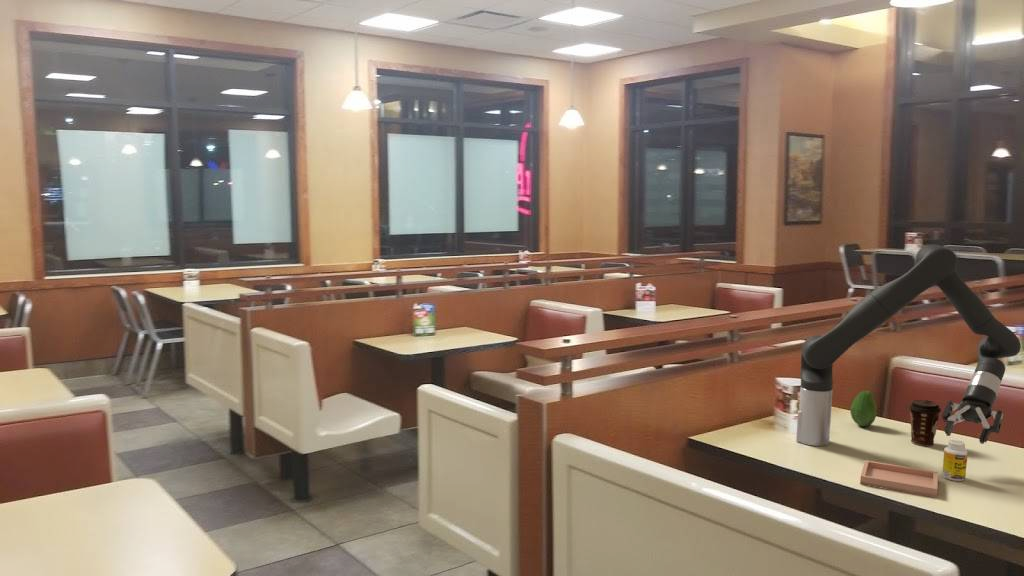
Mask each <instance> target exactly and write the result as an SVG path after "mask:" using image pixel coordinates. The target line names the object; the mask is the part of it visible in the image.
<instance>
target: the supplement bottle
mask: <svg viewBox="0 0 1024 576" xmlns="http://www.w3.org/2000/svg"><path fill="white" fill-rule="evenodd" d="M965 448H966V443H965V441H962V440H957V439H950V440H948V443H947V446H946V447H944V449H943V450H944V452H943V460H942V471H941V475H942V477H944V478H945V479H946V480H950V481H952V482H953V481H954V482H963V481H965V479H966V474H967V463H968V454H969V453H968V450H967V449H965Z"/></svg>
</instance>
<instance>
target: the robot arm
mask: <svg viewBox="0 0 1024 576" xmlns="http://www.w3.org/2000/svg"><path fill="white" fill-rule="evenodd" d="M915 263H916V264H915V265H914V266H913V267H911V269H910V270H908V271H907V272H905V273H904V274H903V275H901V276H900V277H898V278H895V279H894V280H892V281H889V282H887V283H885V284H882V285H880V286H878V287H877V288H876V289H874V290H872V291H871V292H869V293H868V294H867V295H866V296H864V297H862V298H861V300H859V301H858V302H857V303H856V304H855V305H853V307H851V308H850V310H849V311H848V312H847V314H846V315H844V317H843V318H842V320H841V321H840V322H839V323H838V324H837V325H836V326H834V327H833V328H832V329H831V330H829V331H828V332H826V333H825V334H823V335H817V334H815V335H811V336H809V337H808V338H806V340H805V341H803V344H802V346H801V359H800V388H799V389H800V392H799V407H798V409H799V410H798V411H797V419H796V420H797V422H796V423H797V424H796V441H795V442H798V443H802V444H804V445H806V446H807V445H808V446H813V447H815V446H816V447H823V446H828V445H829V444H830V438H831V437H830V435H831V434H830V433H831V423H832V422H831V418H832V402H833V387H834V386H833V385H834V381H833V380H834V379H833V365H834V363H835V362H836V361H837V360H839V358H840V357H841V356H842V355H843V354H845V352H847V351H848V350H849V349H850V348H851V347H852V346H853V345H855V344H856V343H857V342H859V341H861V340H862V339H864V338H865V337H866V336H868V335H869V334H871V333H872V332H873V331H875V330H876V329H877V328H879V327H881V326H882V325H883V324H885V323H886V322H888V320H890V319H891V318H892V317H893V316H895V315H896V314H897V313H898V312H900V311H901V310H903V309H904V308H905V307H906V306H908V305H909V304H910V303H912V302H913V300H915V299H916V298H917V297H918V296H919V295H921V294H922V293H924V292H925V291H927V290H928V289H930V288H932V287H933V286H938V289H940V290H941V292H942V293H943V294H944V295H945V297H946V298H947V299H948V300H949V302H950V303H951V305H952V306H953V307H954V308H955V310H956V312H957V313H958V314H959V315H960V317H961V318H962V320H963V321H964V322H965V324H966V325H967V327H968V328H969V329H970V330H971V332H972V333H974V334H976V335H979V336H983V335H984V337H983V338H982V339H981V340H980V341H979V342H978V345H977V365H976V367H975V369H974V372H973V373H972V374H973V375H972V376H971V377H970V380H969V382H968V384H967V387H966V389H965V393H964V395H963V397H962V401H960V403H955V402H953V401H952V400H948V401H947V403H946V404H945V407H944V409H943V411H942V414H941V419H942V420H943V422H944V423H945V426H944V428H943V430H944V433H945V435H946V437H950V436H951V434H952V432H953V429H954V427H955V425H956V424H957V423H961V422H963V421H966V422H970V423H971V422H972V423H974V424H979V423H981V425H982V427H983V428H982V430H981V433H980V436H979V443H980V444H981V445H984V443H987V442H988V439H989V437H990V435H991V433H995V434H999V433H1000V430H1001V427H1002V424H1003V421H1004V420H1003V419H1004V413H1003V411H1002V410H1000V409H998V410H996V411H994V410H993V407H994V405H995V402H996V400H997V397H998V396H999V392H1000V388H1001V383H1002V381H1003V378H1004V375H1005V372H1006V365H1005V363H1004V362H1003V361H1001V360H1000V359H1003V358H1009V357H1010V358H1011V357H1014V356H1017V355H1018V354H1019V353H1020V351H1021V349H1022V347H1021V346H1022V344H1021V342H1020V339H1019V338H1018V336H1017V334H1015V333H1014V332H1013V331H1012V330H1011V329H1009V327H1007V326H1006V325H1005V324H1004V323H1003V322H1001V321H999V320H998V319H997V318H995V316H994V315H993V313H992V312H991V310H990V309H989V308H988V307H987V306H986V304H985V303H984V302H983V301H982V300H981V298H980V297H979V296H978V295H977V294H976V293H975V292H974V291H973V290H972V289H971V287H969V286H968V285H967V284H966V282H965V281H964V280H963V278H961V276H960V274H958V272H957V270H956V269H957V266H958V256H957V255H956V253H955V252H954V251H953V250H951V249H949V248H948V247H946V246H943V245H940V244H927V245H924V246H922V247H921V248H920V249H919V250H917V253H916V256H915ZM957 409H958V410H957ZM956 410H957V411H956ZM953 412H954V413H953ZM952 413H953V414H952ZM992 416H993V419H994V421H993V425H990V423H989V422H988V420H987V419H989V418H991V417H992Z"/></svg>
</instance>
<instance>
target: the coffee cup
mask: <svg viewBox="0 0 1024 576" xmlns="http://www.w3.org/2000/svg"><path fill="white" fill-rule="evenodd" d="M908 408H909V410H910V412H909V414H910V415H909V416H910V438H911V440H910V442H911V444H913V445H917V446H923V447H930V446H934V445H935V436H936V434H937V428H938V425H939V424H938V423H939V415H940V412H942V409H941V408H940V406H939V404H938V403H937V402H934V401H931V400H927V399H924V400H923V399H914V400H913V401H912V403H911V404H910V405H909V406H908Z"/></svg>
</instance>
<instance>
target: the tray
mask: <svg viewBox="0 0 1024 576" xmlns="http://www.w3.org/2000/svg"><path fill="white" fill-rule="evenodd" d="M938 473H939V472H938V471H936V470H934V471H933V470H928V469H921V468H916V467H910V466H904V465H898V464H897V465H896V464H892V463H886V462H877V461H873V460H868V459H867V460H866V459H865V460H864V463H863V467H862V469H861V474H860V478H859V479H860V481H859V484H860V485H861V484H862V486H867V485H870V486H869V487H873V486H876V487H875V488H878V487H882V488H881V489H884V488H886V489H885V490H890V489H891V490H892V491H897V492H901V493H902V492H903V493H908V494H914V495H918V494H919V496H924V497H925V496H926V497H930V498H938V488H939V487H938V480H939V478H938Z"/></svg>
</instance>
